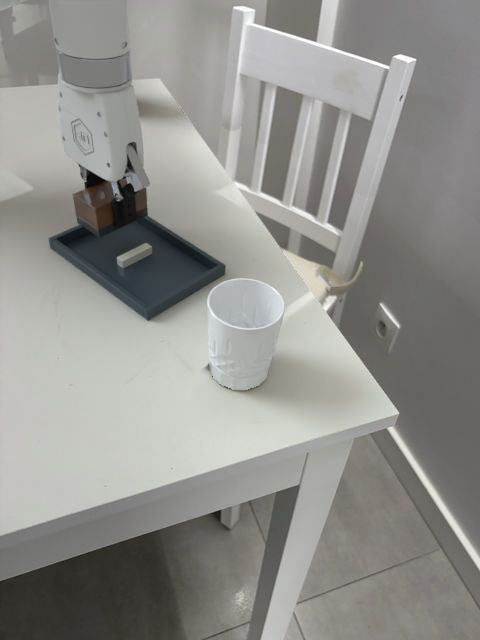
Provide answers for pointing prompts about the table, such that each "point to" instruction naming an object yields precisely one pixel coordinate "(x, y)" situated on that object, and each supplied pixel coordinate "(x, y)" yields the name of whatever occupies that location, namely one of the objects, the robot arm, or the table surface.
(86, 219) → the eraser
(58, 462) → the table surface
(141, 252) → the chalk
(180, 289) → the tray
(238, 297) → the white cup
